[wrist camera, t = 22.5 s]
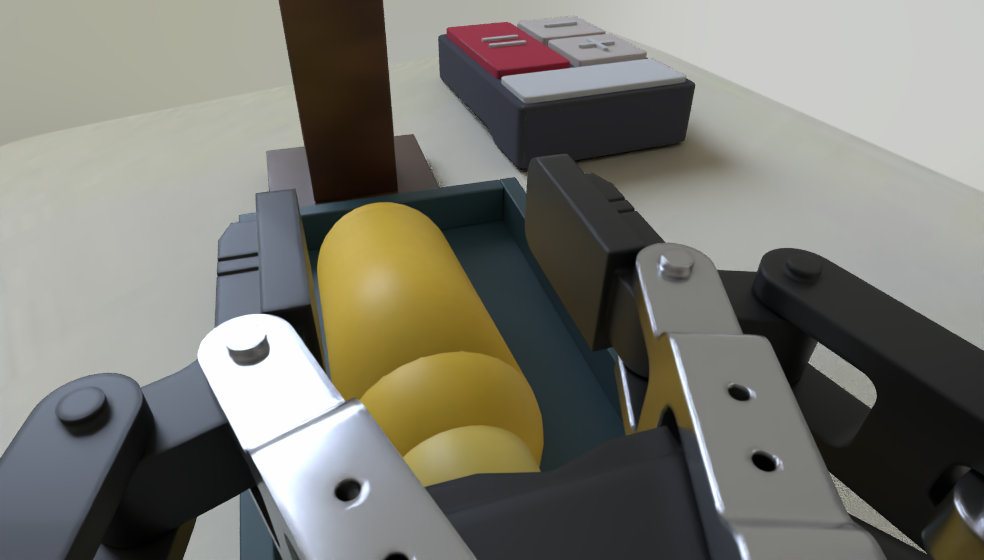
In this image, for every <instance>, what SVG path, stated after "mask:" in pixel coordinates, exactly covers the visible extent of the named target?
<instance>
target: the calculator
mask: <svg viewBox="0 0 984 560" xmlns="http://www.w3.org/2000/svg"><path fill="white" fill-rule="evenodd" d="M438 41H439V65H440V77H441V79H442V80H443V81H444V82H445V83H446V84H447V85H448V86H449V87H450V88H451V89H452V90H453V91H454V92H455V93H456V94H457V95H458V96H459V97H460V98H461V99H462V100H463V101H464V102H465V103H466V104H467V105H468V106H469V108H470V109H471V110H472V111H473V112H474V113H475V114H476V115H477V116H478V117H479V118H480V119H481V120H482V121H483V122H484V123H485V124H486V125H487V126H488V127H489V129H490V131H491V134H492V137H493V140H494V142H495V144H496V145H497V146H498V147H499V148H500V149H501V150H502V152H503V153H504V154H505V155H506V156H507V157H508V158H509V159H510V160H511V161H512V162H513V163H514V164H515V165H516V166H517V167H518V168H522V169H526V168H528V166H529V163H530V160H531V159H532V158H536V157H543V156H551V155H559V154H568V155H569V156H570V157H571V158H572V159H573V160H580V159H586V158H592V157H598V156H604V155H610V154H616V153H622V152H628V151H634V150H639V149H645V148H651V147H657V146H663V145H669V144H675V143H680V142H683V141H684V140H685V136H686V131H687V126H688V121H689V116H690V111H691V105H692V100H693V95H694V89H695V83H694V82H692V81H690V80H688V79H687V78H686V76H685V75H684V74H682V73H680V72H678V71H676V70H674V69H672V68H670V67H669V66H667V65H665V64H663V63H661V62H659V61H657V60H655V59H648V58H646V55H647V52H646V51H644V50H642V49H640V48H638V47H636V46H634V45H632V44H630V43H628V42H626V41H624V40H622V39H620V38H618V37H616V36H614V35H612V34H605V31H604V30H603V29H600V28H599V27H597V26H595V25H593V24H591V23H589V22H587V21H585V20H583V19H581V18H579V17H577V16H566V17H555V18H544V19H534V20H523V21H518V22H517V27H516V26H514V25H512V24H511V23H508V22H502V23H491V24H480V25H470V26H459V27H449V28H447V34H444V35H440V36H439V39H438Z"/></svg>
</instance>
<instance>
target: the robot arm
mask: <svg viewBox="0 0 984 560" xmlns="http://www.w3.org/2000/svg"><path fill="white" fill-rule="evenodd" d="M256 218H257V220H251V221H244V222H237V223H231V224H230V225H229V227H228V228H227V229H226V231H225V232H224V234H223V235H222V236H221V238H220V239H219V240H218V262H217V276H218V277H217V285H216V309H215V329H214V330H212V331H211V332H210V333H209V334H208V335H207V336H206V337H205V339H204V340H203V341H202V343H201V345H200V347H199V351H198V359H197V360H196V361H194V362H193V363H192V364H190V365H189V366H187V367H186V368H184V369H182V370H181V371H179V372H176V373H174V374H172V375H170V376H168V377H165V378H163V379H160V380H158V381H156V382H153V383H151V384H149V385H146V386H144V387H141V388H140V386H139V384H138V383H137V382H136V381H135V380H133V379H132V378H130V377H128V376H125V375H122V374H117V373H101V374H94V375H89V376H85V377H82V378H79V379H76V380H74V381H71V382H69V383H67V384H65V385H63V386H61V387H59V388H58V389H56V390H54V391H53V392H51V393H50V394H49V395H47V396H46V397H45V398H44V399H43V400H42V401H41V402H40V403H39V404H37V405H36V407H35V408H34V409H33V411H32V412H31V413H30V415H29V416H28V418H27V419H26V421H25V422H24V424H23V425H22V427H21V428H20V430H19V431H18V433H17V434H16V436H15V437H14V439H13V440H12V442H11V443H10V445H9V446H8V448H7V449H6V451H5V452H4V454H3V455H2V457H1V458H0V560H183V557H184V554H185V552H186V549H187V546H188V543H189V540H190V537H191V534H192V532H193V529H194V526H195V522H196V518H197V517H198V516H200V515H201V514H203V513H205V512H207V511H209V510H211V509H213V508H215V507H216V506H218V505H220V504H222V503H224V502H226V501H228V500H229V499H231V498H233V497H235V496H237V495H239V494H241V493H243V492H244V491H246V490H249V492H250V494H251V496H252V498H253V500H254V502H255V504H256V506H257V508H258V510H259V512H260V514H261V516H262V518H263V520H264V522H265V524H266V526H267V529H268V531H269V533H270V535H271V537H272V539H273V541H274V543H275V545H276V547H277V549H278V551H279V553H280V555H281V557H282V559H283V560H984V351H983V350H981V349H980V348H978V347H976V346H974V345H973V344H971V343H969V342H968V341H966V340H964V339H962V338H961V337H959V336H957V335H956V334H954V333H952V332H950V331H949V330H947V329H945V328H944V327H942V326H940V325H939V324H937V323H935V322H933V321H932V320H930V319H928V318H927V317H925V316H923V315H921V314H920V313H918V312H916V311H915V310H913V309H911V308H909V307H908V306H906V305H904V304H903V303H901V302H899V301H897V300H896V299H894V298H892V297H891V296H889V295H887V294H885V293H884V292H882V291H880V290H879V289H877V288H875V287H873V286H872V285H870V284H868V283H867V282H865V281H863V280H862V279H860V278H858V277H856V276H855V275H853V274H851V273H850V272H848V271H846V270H844V269H843V268H841V267H839V266H838V265H836V264H834V263H832V262H831V261H829V260H827V259H825V258H824V257H822V256H820V255H817V254H815V253H812V252H809V251H805V250H801V249H794V248H780V249H775V250H772V251H769V252H768V253H766V254H765V255H764V256H763V257H762V259H761V262H760V265H759V268H758V270H757V272H748V271H725V270H717V269H716V267H715V265H714V263H713V262H712V261H711V259H710V258H709V257H707V256H706V255H705V254H703V253H702V252H700V251H698V250H696V249H694V248H691V247H689V246H685V245H681V244H676V243H665V242H664V241H663V239H662V238H661V237H660V236H659V235H658V234H657V233H656V232H655V231H654V229H653V228H652V227H651V226H650V225H649V224H648V223H647V222H646V221H645V219H644V218H643V217H642V216H641V215H640V214H639V213H638V212H637V211H635V210H634V207H633V206H632V205H631V204H630V203H629V202H628V201H627V200H625V197H624V196H623V195H622V194H621V193H620V192H619V191H618V190H617V188H616V187H615V186H614V185H613V184H612V183H610V182H608V181H606V180H604V179H602V178H600V177H599V176H597V175H595V174H593V173H591V174H585V173H584V172H583V171H582V170H581V169H580V167H579V166H578V165H577V164H576V163H575V162H574V160H573V159H572V158H571V157H570V156H569V155H568V154H559V155H551V156H543V157H536V158H532V159H531V160H530V163H529V166H528V178H527V194H526V209H525V233H526V238H527V242H528V245H529V248H530V250H531V252H532V253H533V255H534V257H535V258H536V260H537V262H538V263H539V265H540V267H541V268H542V270H543V271H544V273H545V275H546V276H547V278H548V280H549V281H550V283H551V285H552V286H553V288H554V290H555V291H556V293H557V294H558V296H559V298H560V299H561V301H562V303H563V304H564V306H565V308H566V309H567V311H568V313H569V314H570V316H571V317H572V319H573V321H574V322H575V324H576V326H577V327H578V329H579V331H580V332H581V334H582V336H583V337H584V339H585V340H586V342H587V344H588V345H589V347H590V349H591V350H592V352H593V351H598V350H603V349H607V348H612V347H613V348H614V349H615V351H616V352H617V358H616V363H615V368H614V371H615V378H616V384H617V390H618V396H619V402H620V408H621V414H622V420H623V426H624V431H625V436H622V437H618V438H615V439H611V440H607V441H606V442H604V443H602V444H600V445H598V446H597V447H595V448H593V449H591V450H589V451H588V452H586V453H584V454H582V455H580V456H579V457H577V458H575V459H573V460H571V461H570V462H568V463H566V464H564V465H562V466H561V467H559V468H557V469H555V470H552V471H548V472H518V473H477V474H473V475H469V476H465V477H461V478H457V479H453V480H449V481H445V482H441V483H437V484H434V485H430V486H426V487H424V486H423V485H422V483H421V482H420V481H419V479H418V478H417V477H416V475H415V474H414V473H413V471H412V470H411V468H410V467H409V466H408V464H407V463H406V462H405V460H404V459H403V458H402V456H401V455H400V453H399V452H398V451H397V449H396V448H395V447H394V445H393V444H392V443H391V441H390V440H389V438H388V437H387V436H386V434H385V433H384V432H383V430H382V429H381V428H380V426H379V425H378V423H377V422H376V421H375V419H374V418H373V417H372V415H371V414H370V413H369V411H368V410H367V408H366V407H365V406H364V405H363V404H362V403H361V402H360V401H359V400H358V399H357V398H351V399H349V400H347V401H345V400H344V399H343V398H342V396H341V395H340V393H339V392H338V391H337V389H336V388H335V386H334V385H333V384H332V382H331V381H330V379H329V378H328V376H327V370H326V364H325V357H324V350H323V343H322V337H321V330H320V323H319V316H318V310H317V303H316V296H315V289H314V283H313V277H312V271H311V265H310V260H309V255H308V249H307V244H306V239H305V234H304V229H303V224H302V219H301V214H300V209H299V203H298V198H297V194H296V189H295V188H293V189H285V190H278V191H270V192H262V193H256ZM817 342H819V343H821V344H822V345H824V346H825V347H827V348H828V349H830V350H831V351H833V352H834V353H835V354H837V355H838V356H840V357H841V358H843V359H844V360H846V361H847V362H849V363H850V364H851V365H853V366H854V367H856V368H857V369H859V370H860V371H862V372H863V373H864V374H866V375H867V376H868V377H869V378H870V380H871V381H872V382H873V384H874V386H875V388H876V392H877V399H876V402H875V404H874V406H873V407H872V409H871V408H869V407H868V406H867V405H865V404H864V403H862V402H861V401H860V400H858V399H857V398H856V397H854V396H853V395H851V394H850V393H849V392H847V391H846V390H844V389H843V388H842V387H840V386H839V385H838V384H836V383H835V382H833V381H832V380H831V379H829V378H828V377H826V376H825V375H824V374H822V373H821V372H820V371H818V370H817V369H815V368H814V367H813V366H811V365H810V364H808V361H809V359H810V357H811V355H812V353H813V351H814V349H815V347H816V344H817ZM828 471H829V472H830V473H831V474H833V475H834V476H835V477H836V478H837V479H839V480H840V481H841V482H842V483H843V484H845V485H846V486H847V487H848V488H849V489H851V490H852V491H853V492H854V493H855V494H857V495H858V496H859V497H860V498H861V499H863V500H864V501H865V502H866V503H867V504H869V505H870V506H871V507H872V508H873V509H875V510H876V511H877V512H878V513H879V514H881V515H882V516H883V517H884V518H885V519H887V520H888V521H889V522H890V523H891V524H893V525H894V526H895V527H896V528H898V529H899V530H900V531H901V532H902V533H904V534H905V535H906V536H907V537H908V538H910V539H911V540H912V541H913V542H914V543H916V544H917V545H918V546H919V547H920V548H922V549H923V550H924V551H925V552H926V553H927V554H928V555H927V554H925V553H923V552H922V551H920V550H918V549H916V548H914V547H912V546H910V545H908V544H906V543H904V542H902V541H900V540H899V539H897V538H895V537H893V536H891V535H889V534H887V533H885V532H883V531H881V530H879V529H877V528H876V527H874V526H872V525H870V524H868V523H866V522H864V521H862V520H860V519H858V518H856V517H855V516H853V515H851V514H849V513H847V511H846V509H845V507H844V505H843V503H842V500H841V498H840V496H839V494H838V492H837V489H836V487H835V485H834V483H833V480H832V478H831V476H830V474H829V472H828Z"/></svg>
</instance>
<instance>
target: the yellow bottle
mask: <svg viewBox="0 0 984 560" xmlns="http://www.w3.org/2000/svg"><path fill="white" fill-rule="evenodd" d="M317 277H318V285H319V292H320V300H321V307H322V315H323V322H324V330H325V337H326V345H327V352H328V360H329V367H330V375H331V382H332V384H333V385H334V386H335V388H336V389H337V391H338V392H339V393H340V395H341V396H342V398H343V399H344V400H345V401H347V400H349V399H351V398H357V399H358V400H359V401H360V402H361V403H362V404H363V405H364V406H365V407H366V408H367V410H368V411H369V413H370V414H371V415H372V417H373V418H374V419H375V421H376V422H377V423H378V425H379V426H380V428H381V429H382V430H383V432H384V433H385V434H386V436H387V437H388V438H389V440H390V441H391V443H392V444H393V445H394V447H395V448H396V449H397V451H398V452H399V453H400V455H401V456H402V458H403V459H404V460H405V462H406V463H407V464H408V466H409V467H410V468H411V470H412V471H413V473H414V474H415V475H416V477H417V478H418V479H419V481H420V482H421V483H422V485H423V486H424V487H426V486H430V485H434V484H437V483H441V482H445V481H449V480H453V479H457V478H461V477H465V476H469V475H473V474H477V473H518V472H541V471H540V469H539V467H540V462H541V456H542V451H543V445H544V440H543V425H542V416H541V413H540V409H539V406H538V403H537V400H536V398H535V395H534V393H533V390H532V388H531V387H530V385H529V383H528V382H527V380H526V378H525V376H524V375H523V373H522V371H521V369H520V368H519V366H518V364H517V362H516V361H515V359H514V357H513V355H512V354H511V352H510V350H509V348H508V347H507V345H506V343H505V341H504V340H503V338H502V336H501V334H500V333H499V331H498V329H497V327H496V326H495V324H494V322H493V320H492V319H491V317H490V315H489V313H488V312H487V310H486V308H485V306H484V305H483V303H482V301H481V299H480V298H479V296H478V294H477V292H476V291H475V289H474V287H473V285H472V284H471V282H470V280H469V278H468V277H467V275H466V273H465V271H464V270H463V268H462V266H461V264H460V263H459V261H458V259H457V257H456V256H455V254H454V252H453V250H452V249H451V247H450V245H449V243H448V242H447V240H446V238H445V236H444V235H443V233H442V232H441V230H440V229H439V228H438V227H437V226H436V225H435V224H434V223H433V222H432V221H431V220H430V219H429V218H428V217H427V216H426V215H424V214H423V213H421V212H420V211H418V210H416V209H413V208H411V207H408V206H406V205H402V204H397V203H392V202H378V203H372V204H367V205H364V206H361V207H359V208H356V209H354V210H352V211H351V212H349V213H347V214H346V215H344V216H343V217H342V218H341V219H340V220H339V221H338V222H337V223H335V225H334V226H333V227H332V229H331V230H330V231H329V233H328V234H327V235H326V237H325V239H324V241H323V243H322V246H321V248H320V252H319V257H318V264H317Z"/></svg>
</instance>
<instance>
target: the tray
mask: <svg viewBox="0 0 984 560" xmlns="http://www.w3.org/2000/svg"><path fill="white" fill-rule="evenodd" d="M378 202H392V203H397V204H402V205H406V206H408V207H411V208H413V209H416V210H418V211H420V212H421V213H423V214H424V215H426V216H427V217H428V218H429V219H430V220H431V221H432V222H433V223H434V224H435V225H436V226H437V227H438V228H439V229H440V230H441V232H442V233H443V235H444V236H445V238H446V240H447V242H448V243H449V245H450V247H451V249H452V250H453V252H454V254H455V256H456V257H457V259H458V261H459V263H460V264H461V266H462V268H463V270H464V271H465V273H466V275H467V277H468V278H469V280H470V282H471V284H472V285H473V287H474V289H475V291H476V292H477V294H478V296H479V298H480V299H481V301H482V303H483V305H484V306H485V308H486V310H487V312H488V313H489V315H490V317H491V319H492V320H493V322H494V324H495V326H496V327H497V329H498V331H499V333H500V334H501V336H502V338H503V340H504V341H505V343H506V345H507V347H508V348H509V350H510V352H511V354H512V355H513V357H514V359H515V361H516V362H517V364H518V366H519V368H520V369H521V371H522V373H523V375H524V376H525V378H526V380H527V382H528V383H529V385H530V387H531V388H532V390H533V393H534V395H535V398H536V400H537V403H538V406H539V409H540V413H541V416H542V425H543V440H544V445H543V451H542V456H541V462H540V467H539V469H540V471H541V472H548V471H552V470H555V469H557V468H559V467H561V466H562V465H564V464H566V463H568V462H570V461H571V460H573V459H575V458H577V457H579V456H580V455H582V454H584V453H586V452H588V451H589V450H591V449H593V448H595V447H597V446H598V445H600V444H602V443H604V442H606V441H607V440H611V439H615V438H618V437H622V436H625V431H624V426H623V420H622V414H621V408H620V402H619V396H618V390H617V384H616V378H615V371H614V368H615V363H616V358H617V352H616V351H615V349H614V348H613V347H612V348H607V349H603V350H598V351H593V352H592V350H591V349H590V347H589V345H588V344H587V342H586V340H585V339H584V337H583V336H582V334H581V332H580V331H579V329H578V327H577V326H576V324H575V322H574V321H573V319H572V317H571V316H570V314H569V313H568V311H567V309H566V308H565V306H564V304H563V303H562V301H561V299H560V298H559V296H558V294H557V293H556V291H555V290H554V288H553V286H552V285H551V283H550V281H549V280H548V278H547V276H546V275H545V273H544V271H543V270H542V268H541V267H540V265H539V263H538V262H537V260H536V258H535V257H534V255H533V253H532V252H531V250H530V248H529V245H528V242H527V238H526V233H525V209H526V192H525V191H524V190H523V188H522V187H521V185H520V184H519V182H518V181H517V179H516V178H515V177H513V178H506V179H500V181H499V180H493V181H486V182H479V183H471V184H464V185H457V186H450V187H442V188H435V189H428V190H420V191H413V192H406V193H398V194H391V195H384V196H377V197H369V198H362V199H355V200H347V201H340V202H333V203H326V204H318V205H311V206H304V207H299V209H300V214H301V219H302V224H303V229H304V234H305V239H306V244H307V249H308V255H309V260H310V265H311V271H312V277H313V283H314V289H315V296H316V303H317V310H318V316H319V323H320V330H321V337H322V343H323V350H324V357H325V364H326V370H327V376H328V378H329V379H330V381H331V375H330V367H329V360H328V352H327V345H326V337H325V330H324V322H323V315H322V307H321V300H320V292H319V285H318V277H317V264H318V257H319V252H320V248H321V246H322V243H323V241H324V239H325V237H326V235H327V234H328V233H329V231H330V230H331V229H332V227H333V226H334V225H335V223H337V222H338V221H339V220H340V219H341V218H342V217H343V216H344V215H346V214H347V213H349V212H351V211H352V210H354V209H356V208H359V207H361V206H364V205H367V204H372V203H378ZM251 220H257V218H256V213H250V214H243V215H239V222H244V221H251ZM240 560H283V559H282V557H281V555H280V553H279V551H278V549H277V547H276V545H275V543H274V541H273V539H272V537H271V535H270V533H269V531H268V529H267V526H266V524H265V522H264V520H263V518H262V516H261V514H260V512H259V510H258V508H257V506H256V504H255V502H254V500H253V498H252V496H251V494H250V492H249V490H246V491H244V492H243V493H241V494H240Z"/></svg>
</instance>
